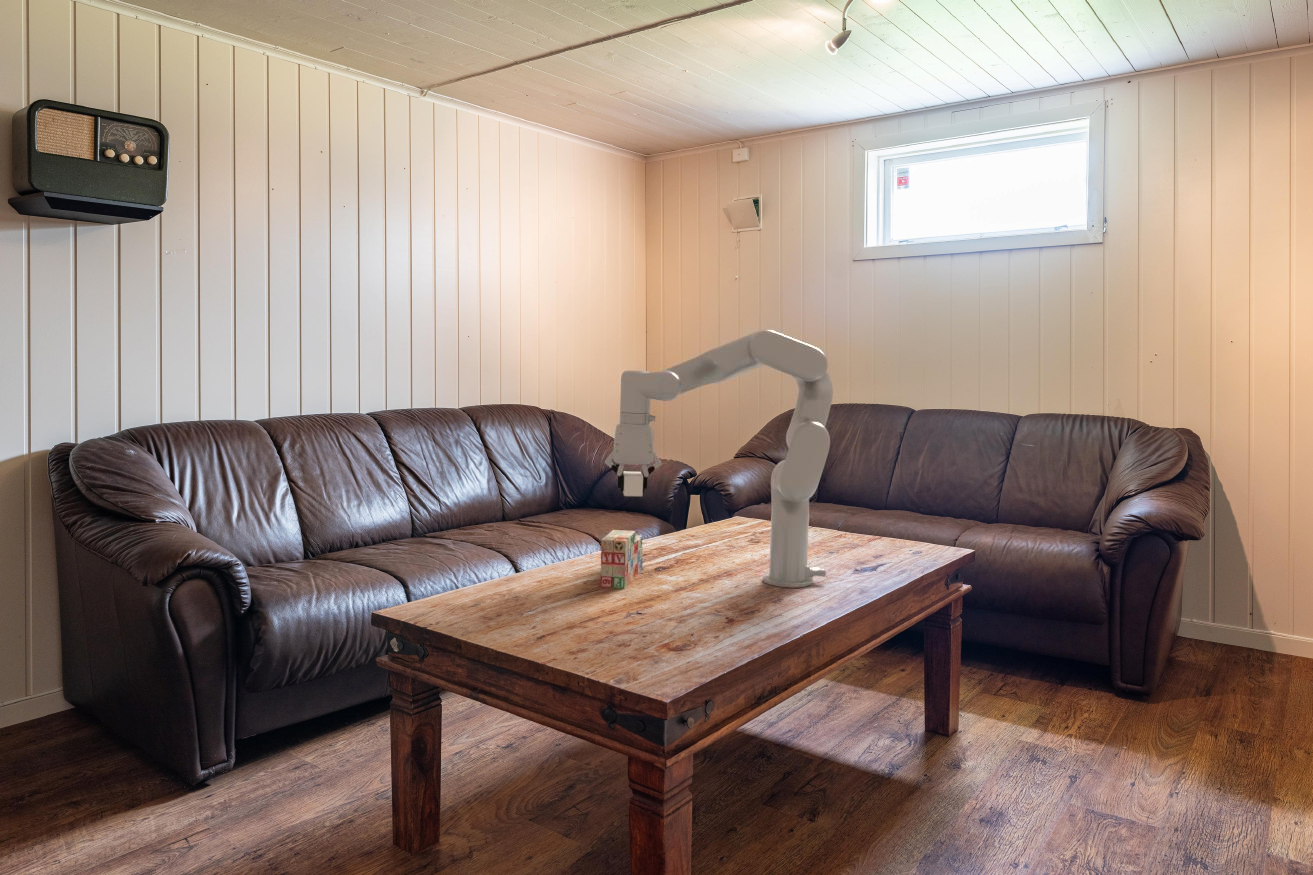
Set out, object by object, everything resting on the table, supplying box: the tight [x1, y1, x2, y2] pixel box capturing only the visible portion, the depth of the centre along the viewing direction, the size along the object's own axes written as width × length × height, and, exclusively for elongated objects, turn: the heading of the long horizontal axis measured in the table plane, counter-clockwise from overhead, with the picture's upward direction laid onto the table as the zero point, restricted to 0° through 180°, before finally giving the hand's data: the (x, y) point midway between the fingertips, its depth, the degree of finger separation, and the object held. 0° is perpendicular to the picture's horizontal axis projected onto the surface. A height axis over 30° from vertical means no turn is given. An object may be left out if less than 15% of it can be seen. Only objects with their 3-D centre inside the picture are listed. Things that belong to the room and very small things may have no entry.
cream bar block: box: [622, 470, 643, 497], centre depth 220 cm, size 4×9×5 cm, turn 5°
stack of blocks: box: [600, 529, 643, 590], centre depth 224 cm, size 21×6×12 cm, turn 169°
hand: (632, 490), depth 221 cm, fingers closed on cream bar block, 4 cm apart
